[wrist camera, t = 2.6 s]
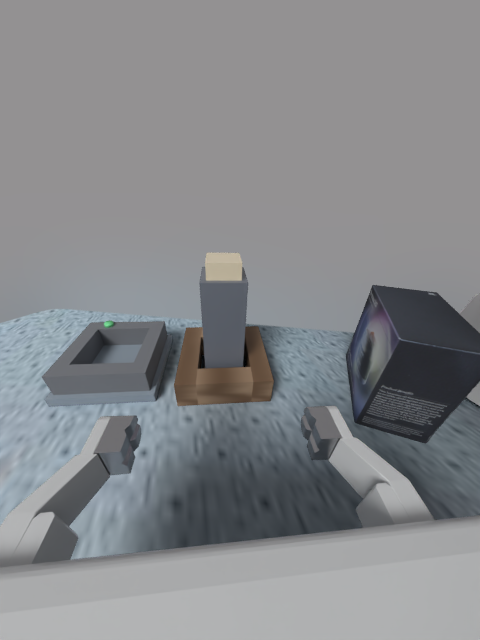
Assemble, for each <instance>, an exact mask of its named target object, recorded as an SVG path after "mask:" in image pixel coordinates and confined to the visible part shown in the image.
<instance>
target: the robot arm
mask: <svg viewBox="0 0 480 640" xmlns="http://www.w3.org/2000/svg"><path fill="white" fill-rule="evenodd" d="M459 314H460V315H461V316H462V317H463V318H464V319H465V320H466V321H467V322H468V323H469V324H471V325H472V326H473V327H474V328H475V329H476V330H477V331H478V332H479V333H480V293H478V294H476V295H475V296H474V297H473V298H472V299H471V300H470V301H469V303H468V304H467V305H466V306H465V307H464V309H463V310H462V311H461V312H460V313H459ZM466 398H468V399H469V400H471V401H472V402H474V403H475V404H477V405H479V406H480V382H479V383H478V384H477V386H476V387H475V388H473V389H472V391H471V392H470V393H469V394H468V396H467V397H466ZM304 414H305V415H304V416H303V417H302V418H301V430H302V434H303V437H304V438H305V439H307V440H308V443H307V448H308V451H309V454H310V457H311V460H327V459H329V461H330V463H331V464H332V465H333V466H334V467H335V468H336V469H337V470H338V472H339V473H340V474H341V475H342V476H343V477H344V478H345V479H346V481H347V482H348V483H349V484H350V485H351V486H352V487H353V488H354V490H355V491H356V492H357V493H358V494H359V495H360V496H361V497H362V499H363V500H362V501H361V503H360V504H359V505H358V506H357V508H356V512H357V514H358V517H359V519H360V522H361V524H362V526H363V528H357V529H348V530H339V531H330V532H321V533H311V534H302V535H293V536H284V537H275V538H265V539H256V540H247V541H238V542H229V543H220V544H210V545H201V546H192V547H183V548H174V549H164V550H155V551H146V552H137V553H128V554H119V555H109V556H100V557H91V558H82V559H73V560H70V559H71V556H72V554H73V551H74V548H75V546H76V543H77V541H78V535H77V534H76V533H75V532H74V531H73V530H72V529H71V528H70V527H69V526H70V525H71V523H72V522H73V521H74V520H75V519H76V517H77V516H78V515H79V514H80V512H81V511H82V510H83V509H84V508H85V506H86V505H87V504H88V503H89V502H90V500H91V499H92V498H93V497H94V495H95V494H96V493H97V492H98V491H99V489H100V488H101V487H102V486H103V485H104V483H105V482H106V481H107V480H108V478H109V477H110V476H109V475H119V474H129V473H131V470H132V466H133V463H134V460H135V455H134V451H135V450H136V449H137V448H138V447H139V443H140V439H141V427H140V425H139V424H137V422H138V418H137V416H136V415H135V416H106V417H100V418H99V419H98V420H97V422H96V424H95V426H94V428H93V430H92V432H91V434H90V435H89V437H88V439H87V441H86V443H85V445H84V447H83V449H82V451H81V453H80V455H75V456H74V457H73V458H72V459H71V460H70V461H69V462H67V463H66V464H65V465H64V466H63V467H62V468H61V469H59V470H58V471H57V472H56V473H55V474H54V475H53V476H51V477H50V478H49V479H48V480H47V481H46V482H45V483H43V484H42V485H41V486H40V487H39V488H38V489H36V490H35V491H34V492H33V493H32V494H31V495H30V496H28V497H27V498H26V499H25V500H24V501H23V502H22V503H20V504H19V505H18V506H17V507H16V508H15V509H14V510H12V511H11V512H10V513H9V514H8V515H7V517H6V518H5V520H4V521H3V523H2V525H1V526H0V640H480V515H477V516H467V517H458V518H449V519H440V520H435V519H434V518H433V516H432V515H431V513H430V512H429V510H428V509H427V507H426V505H425V504H424V502H423V501H422V499H421V498H420V496H419V495H418V493H417V492H416V490H415V489H414V487H413V485H412V484H411V482H410V481H409V480H408V479H407V478H406V477H405V476H403V475H402V474H401V473H400V472H398V471H397V470H396V469H395V468H394V467H392V466H391V465H390V464H389V463H387V462H386V461H385V460H384V459H382V458H381V457H380V456H379V455H378V454H376V453H375V452H374V451H373V450H371V449H370V448H369V447H368V446H366V445H365V444H364V443H363V442H362V441H360V440H359V439H358V438H354V437H353V435H352V433H351V432H350V430H349V428H348V426H347V424H346V423H345V421H344V419H343V417H342V415H341V413H340V412H339V410H338V408H337V407H336V406H318V407H306V408H305V409H304Z"/></svg>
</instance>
